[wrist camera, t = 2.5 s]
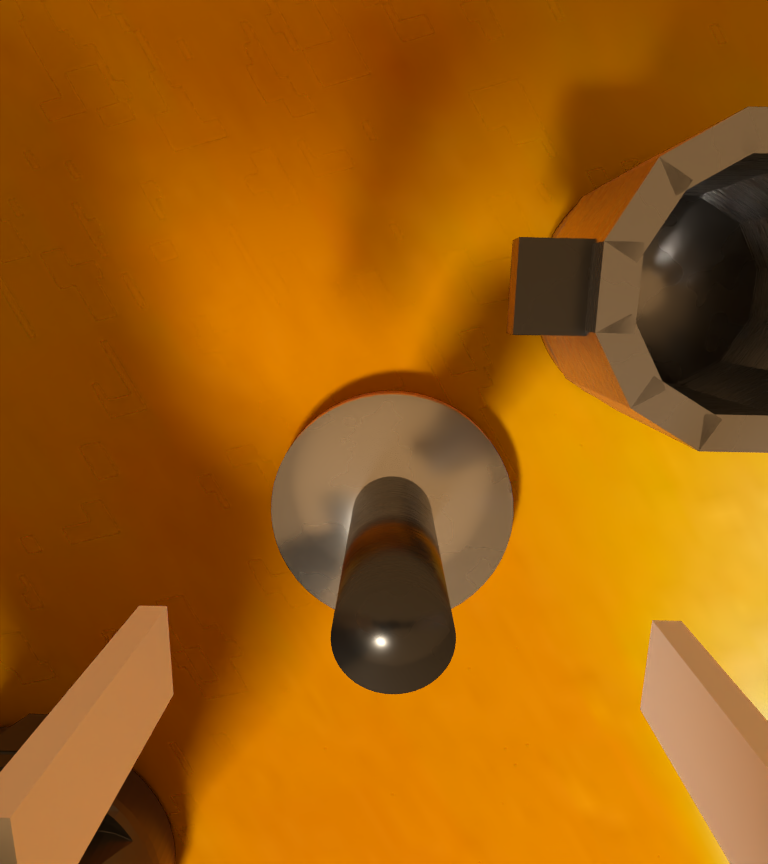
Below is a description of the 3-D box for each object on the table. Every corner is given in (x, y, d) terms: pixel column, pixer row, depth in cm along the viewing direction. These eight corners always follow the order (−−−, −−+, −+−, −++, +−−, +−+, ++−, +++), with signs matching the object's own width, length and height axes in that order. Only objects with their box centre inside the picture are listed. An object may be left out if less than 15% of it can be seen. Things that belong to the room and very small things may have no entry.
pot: (475, 403, 27) (511, 447, 19) (488, 165, 24) (535, 103, 16) (800, 409, 26) (971, 456, 19) (842, 171, 24) (1058, 111, 16)
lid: (278, 607, 29) (211, 794, 18) (273, 387, 27) (192, 451, 16) (500, 612, 29) (567, 803, 18) (515, 392, 27) (603, 459, 16)
